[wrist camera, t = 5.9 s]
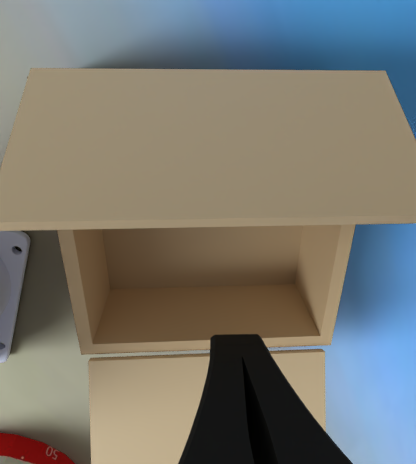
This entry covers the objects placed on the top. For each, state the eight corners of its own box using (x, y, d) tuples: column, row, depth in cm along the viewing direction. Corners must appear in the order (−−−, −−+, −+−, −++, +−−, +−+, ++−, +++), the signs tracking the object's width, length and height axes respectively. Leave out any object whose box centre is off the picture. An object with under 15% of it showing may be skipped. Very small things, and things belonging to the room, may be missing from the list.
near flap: (35, 79, 11) (30, 68, 11) (379, 81, 12) (385, 70, 12) (-8, 231, 9) (-16, 222, 8) (438, 222, 9) (448, 214, 9)
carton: (300, 286, 22) (330, 345, 18) (102, 292, 21) (81, 354, 17) (331, 73, 17) (385, 78, 12) (70, 71, 16) (27, 76, 12)
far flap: (324, 351, 17) (321, 348, 18) (88, 361, 17) (90, 357, 17) (325, 463, 17) (322, 458, 18) (91, 477, 17) (93, 471, 17)
